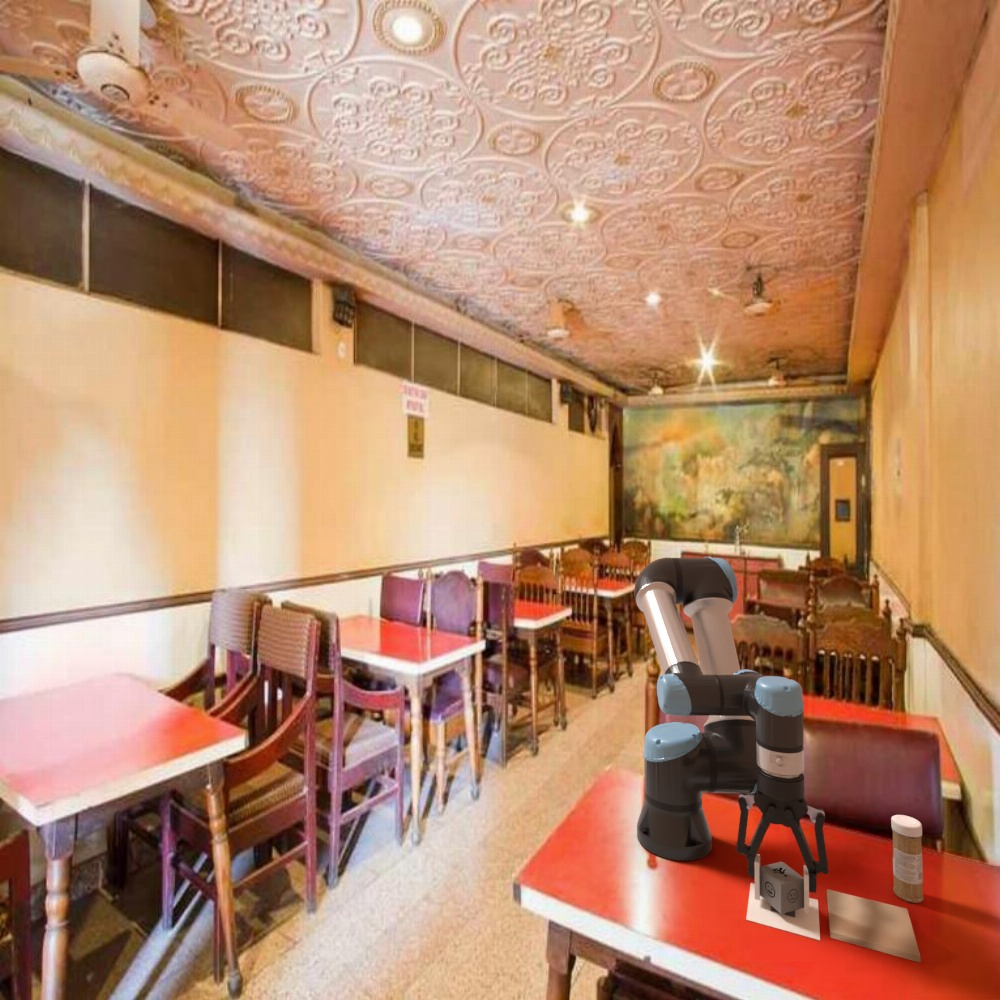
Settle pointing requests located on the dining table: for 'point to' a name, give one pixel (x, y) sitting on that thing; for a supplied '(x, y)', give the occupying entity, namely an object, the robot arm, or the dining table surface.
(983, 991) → the dining table surface
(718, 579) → the robot arm
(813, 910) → the white tile
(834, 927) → the birch coaster
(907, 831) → the sprinkles bottle
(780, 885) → the dice cube
